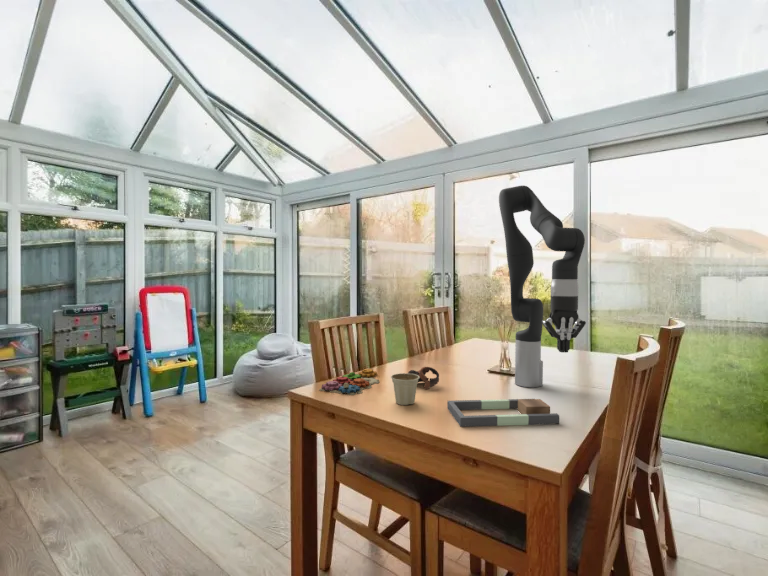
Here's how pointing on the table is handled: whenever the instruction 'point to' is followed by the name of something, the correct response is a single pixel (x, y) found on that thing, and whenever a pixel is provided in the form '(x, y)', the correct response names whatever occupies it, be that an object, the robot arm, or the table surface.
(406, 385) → the flower pot
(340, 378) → the gear puzzle
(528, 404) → the walnut block
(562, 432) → the table surface
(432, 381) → the brown ring toy
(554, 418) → the box
